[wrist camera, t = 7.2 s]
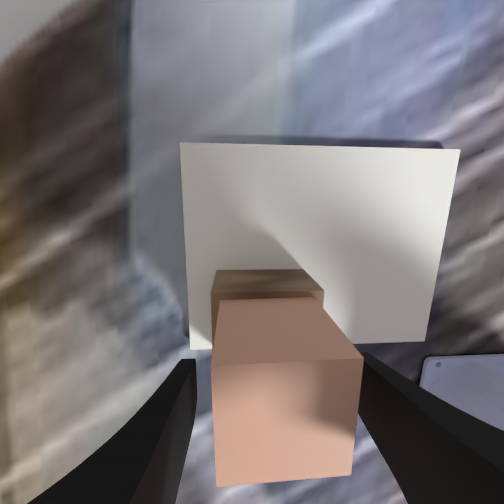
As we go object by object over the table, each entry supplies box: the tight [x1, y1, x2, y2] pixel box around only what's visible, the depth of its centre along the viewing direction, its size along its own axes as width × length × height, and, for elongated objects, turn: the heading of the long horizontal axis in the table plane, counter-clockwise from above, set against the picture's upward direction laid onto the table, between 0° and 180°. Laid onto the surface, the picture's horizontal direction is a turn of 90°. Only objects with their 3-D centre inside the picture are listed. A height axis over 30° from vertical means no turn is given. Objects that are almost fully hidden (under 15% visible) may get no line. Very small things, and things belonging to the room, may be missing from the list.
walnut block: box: [211, 269, 324, 353], centre depth 15 cm, size 6×6×4 cm
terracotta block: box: [211, 297, 364, 487], centre depth 11 cm, size 5×5×5 cm
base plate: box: [179, 142, 460, 350], centre depth 17 cm, size 18×14×1 cm
